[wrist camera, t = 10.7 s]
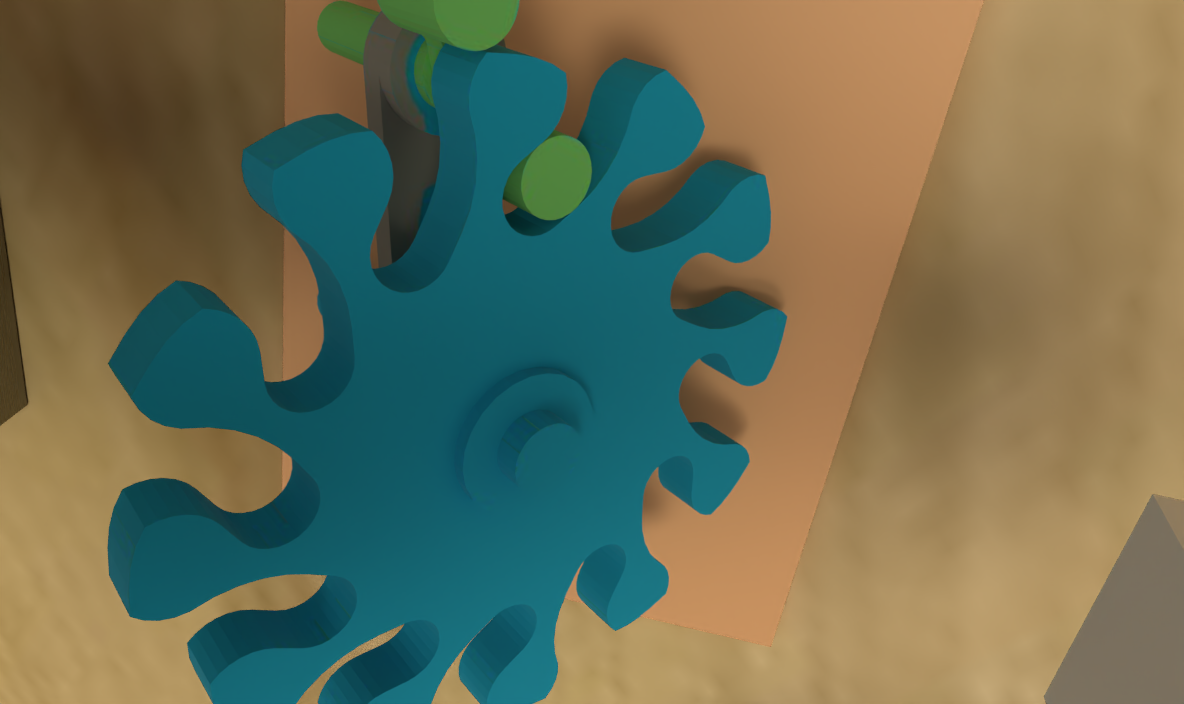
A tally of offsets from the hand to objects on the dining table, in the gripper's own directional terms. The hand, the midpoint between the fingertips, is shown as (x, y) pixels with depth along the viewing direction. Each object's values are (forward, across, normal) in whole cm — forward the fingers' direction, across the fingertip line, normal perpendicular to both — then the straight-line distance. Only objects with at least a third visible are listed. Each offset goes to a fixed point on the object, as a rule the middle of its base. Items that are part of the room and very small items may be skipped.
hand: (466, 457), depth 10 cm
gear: (+8, +2, -1) cm, 8 cm away
